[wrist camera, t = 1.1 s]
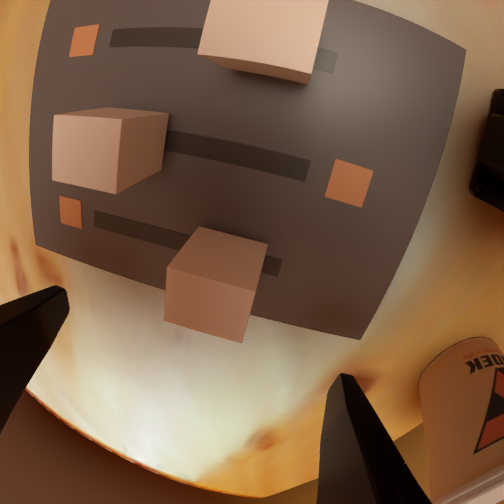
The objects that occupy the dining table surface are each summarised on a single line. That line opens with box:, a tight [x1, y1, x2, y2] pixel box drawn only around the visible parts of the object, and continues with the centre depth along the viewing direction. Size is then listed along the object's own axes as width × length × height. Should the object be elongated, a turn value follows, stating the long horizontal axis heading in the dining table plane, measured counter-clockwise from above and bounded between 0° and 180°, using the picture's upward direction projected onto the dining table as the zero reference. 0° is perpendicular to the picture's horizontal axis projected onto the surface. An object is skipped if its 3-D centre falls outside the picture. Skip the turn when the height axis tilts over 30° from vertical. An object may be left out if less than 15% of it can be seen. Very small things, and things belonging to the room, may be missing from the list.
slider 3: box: [164, 226, 268, 343], centre depth 12 cm, size 3×2×4 cm
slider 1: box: [52, 107, 169, 194], centre depth 10 cm, size 3×2×4 cm
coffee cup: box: [419, 337, 504, 504], centre depth 14 cm, size 9×9×12 cm
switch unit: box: [29, 0, 466, 340], centre depth 13 cm, size 20×15×3 cm
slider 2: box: [197, 0, 329, 85], centre depth 8 cm, size 3×2×4 cm
